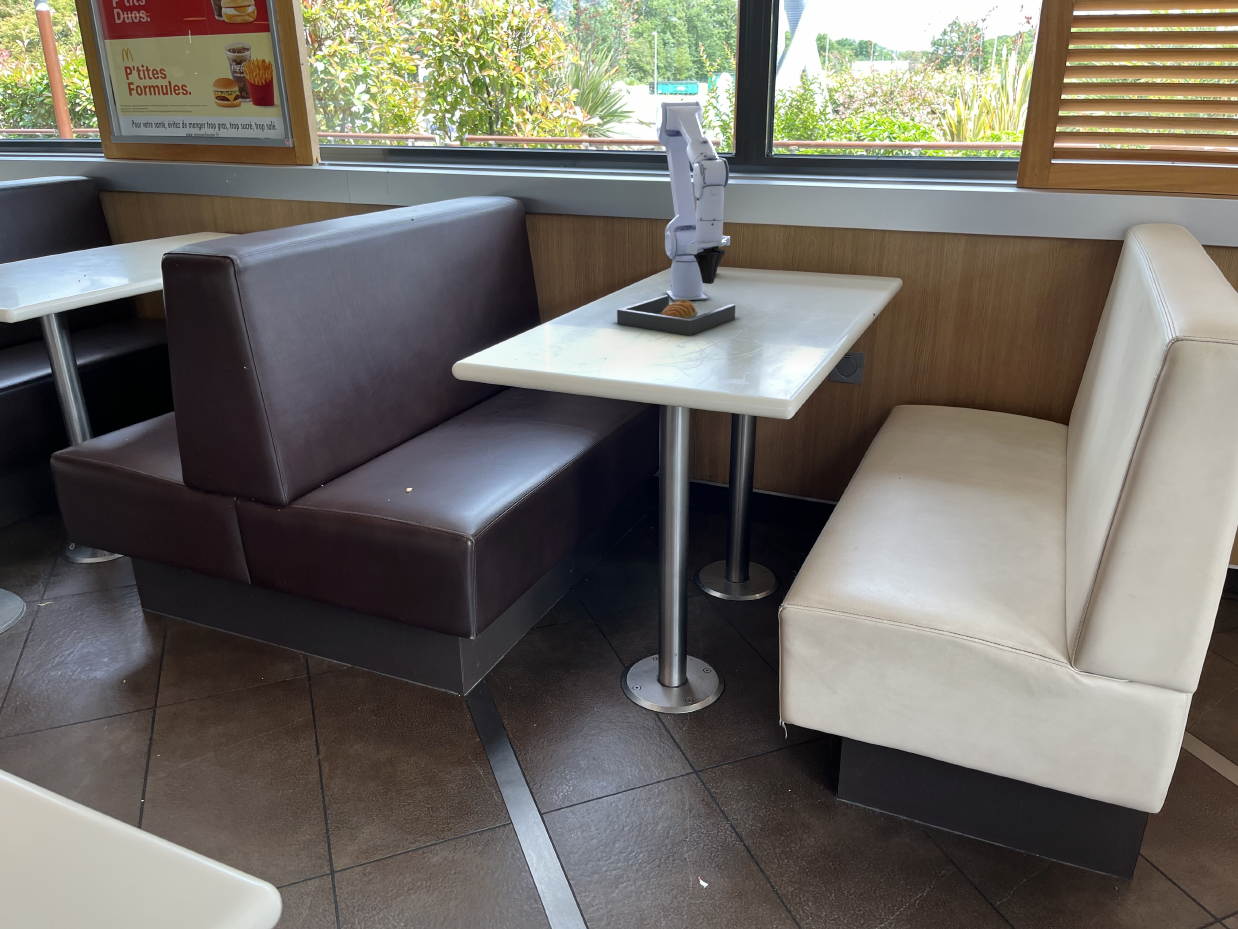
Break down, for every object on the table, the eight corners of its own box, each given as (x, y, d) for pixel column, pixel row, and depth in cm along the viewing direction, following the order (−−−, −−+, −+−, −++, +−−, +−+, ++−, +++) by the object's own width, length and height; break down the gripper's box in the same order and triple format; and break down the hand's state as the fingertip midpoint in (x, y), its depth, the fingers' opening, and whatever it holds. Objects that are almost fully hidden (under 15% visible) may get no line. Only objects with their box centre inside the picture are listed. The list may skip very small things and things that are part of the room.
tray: (664, 308, 200) (664, 294, 199) (735, 318, 190) (735, 304, 189) (617, 323, 187) (616, 309, 186) (690, 335, 177) (690, 320, 176)
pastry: (683, 327, 183) (683, 309, 182) (653, 324, 186) (653, 306, 184) (699, 317, 191) (699, 299, 190) (669, 315, 194) (669, 297, 192)
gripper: (707, 224, 182) (705, 290, 188) (743, 216, 193) (740, 279, 198) (678, 222, 186) (678, 287, 192) (715, 214, 197) (713, 276, 202)
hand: (708, 283), depth 195 cm, fingers closed
